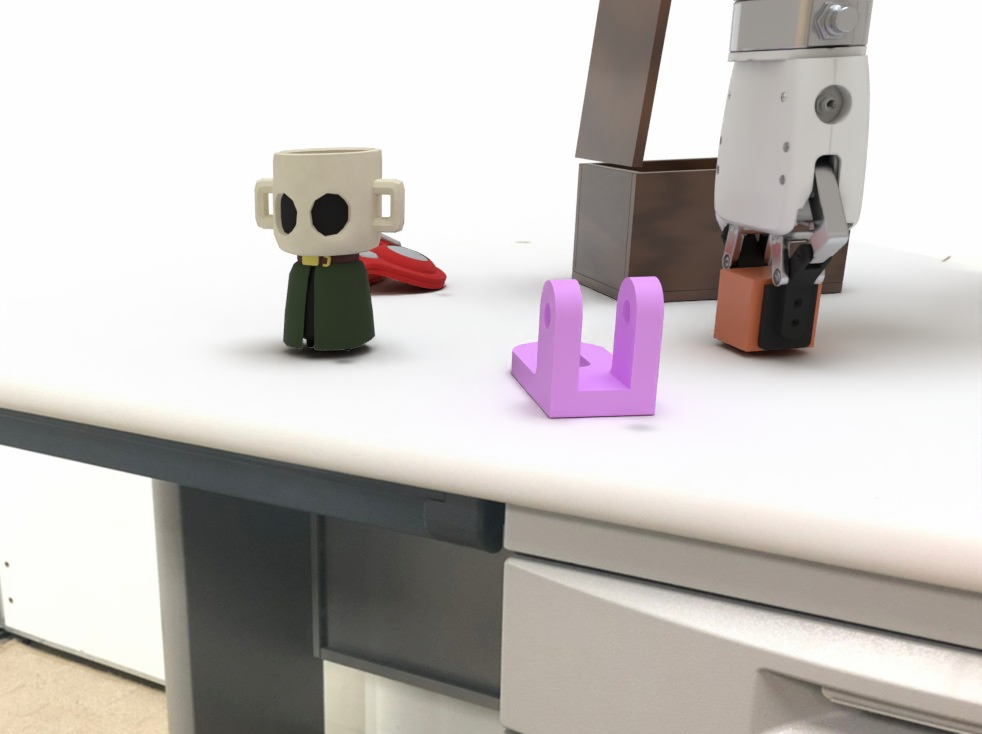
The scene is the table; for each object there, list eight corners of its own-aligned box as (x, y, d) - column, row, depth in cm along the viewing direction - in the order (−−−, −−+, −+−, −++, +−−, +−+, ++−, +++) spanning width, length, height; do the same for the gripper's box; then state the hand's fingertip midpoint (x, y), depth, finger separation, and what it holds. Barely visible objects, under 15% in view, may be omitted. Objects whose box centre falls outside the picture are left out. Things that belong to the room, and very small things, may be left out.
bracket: (654, 414, 64) (666, 282, 61) (549, 417, 64) (557, 286, 61) (591, 361, 76) (599, 249, 73) (503, 364, 76) (508, 252, 73)
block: (778, 333, 80) (786, 264, 78) (814, 347, 75) (823, 275, 74) (713, 337, 79) (720, 269, 78) (745, 352, 75) (753, 279, 73)
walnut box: (763, 269, 106) (777, 154, 103) (841, 292, 95) (860, 163, 91) (571, 279, 105) (578, 163, 102) (626, 304, 94) (636, 173, 90)
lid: (622, -86, 95) (554, -92, 94) (691, -110, 83) (614, -118, 83) (583, 158, 102) (519, 153, 101) (642, 167, 90) (570, 162, 89)
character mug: (234, 354, 82) (226, 154, 77) (283, 334, 87) (279, 147, 83) (380, 366, 77) (382, 153, 72) (422, 345, 82) (426, 146, 77)
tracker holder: (473, 273, 103) (381, 256, 98) (454, 321, 105) (363, 307, 100) (399, 228, 112) (311, 210, 107) (383, 273, 114) (296, 258, 109)
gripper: (950, 23, 63) (895, 364, 70) (786, 34, 79) (755, 312, 85) (812, 30, 62) (771, 373, 69) (676, 40, 78) (653, 319, 85)
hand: (763, 336), depth 77 cm, fingers closed on block, 4 cm apart
